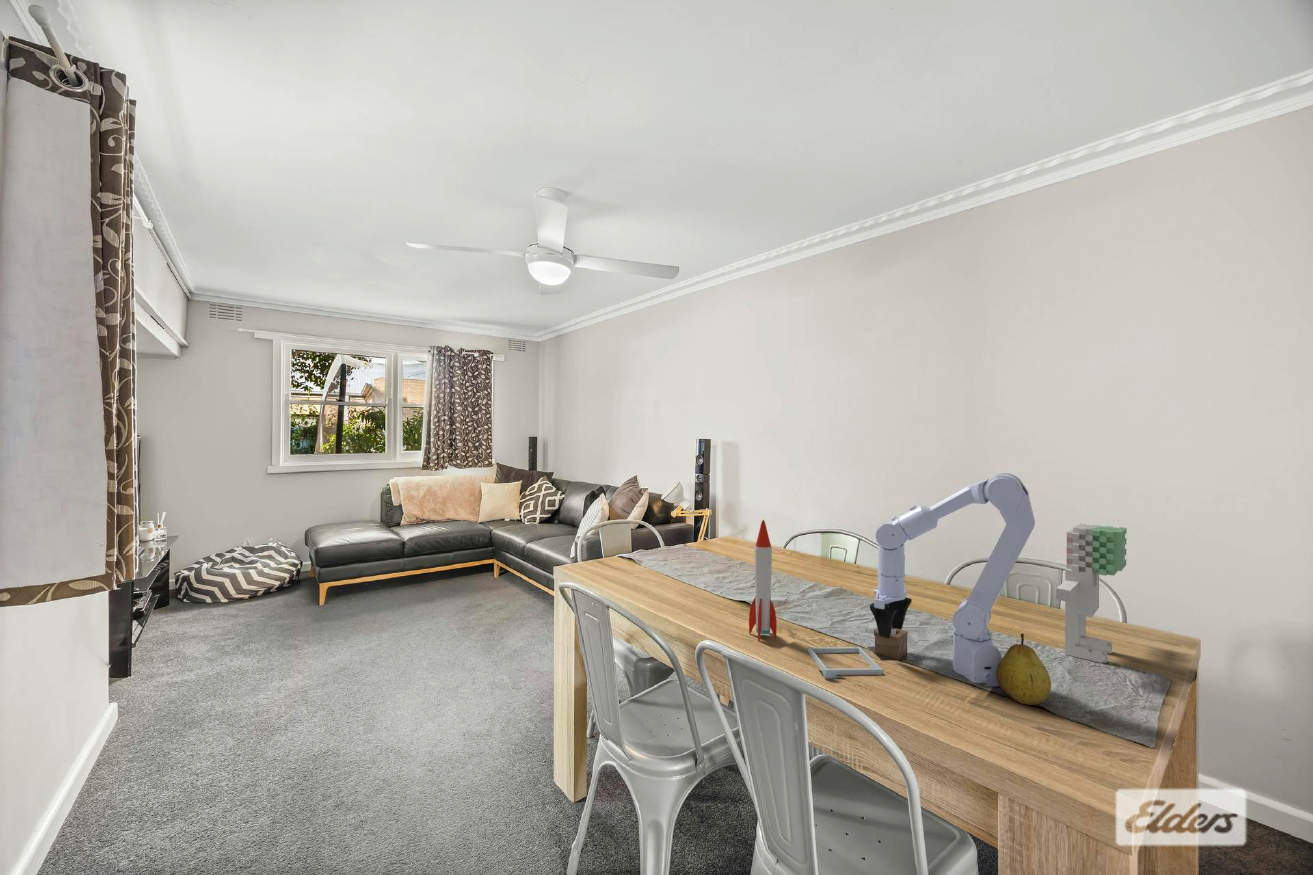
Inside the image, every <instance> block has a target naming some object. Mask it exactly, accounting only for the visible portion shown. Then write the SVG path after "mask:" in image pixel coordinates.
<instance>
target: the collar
mask: <svg viewBox="0 0 1313 875" xmlns="http://www.w3.org/2000/svg"><path fill="white" fill-rule="evenodd" d="M873 636H874V646H875V653H876V654H880V655H883V656H887V657H890V658H894V659H898V660H897V661H900V660H899V659H900V658H902V657H903V656H904V655H905V654H907V652H908V631H906V630H903V629H901V630H900V629H896V635H894V634H890V637H889V638H885V637H881V636H879V632H878V628H875V629H874V630H873Z"/></svg>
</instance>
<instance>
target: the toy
mask: <svg viewBox="0 0 1313 875" xmlns="http://www.w3.org/2000/svg"><path fill="white" fill-rule="evenodd" d="M1126 534H1127V527H1120V526H1119V527H1115V526H1114V527H1113V526H1111V525H1110V526H1109V525H1106V526H1103V525H1099V524H1086V523H1079V524H1077V525H1075V526H1073V527H1072V528H1071V529H1069V530H1068V531H1067V532H1066V568H1065V573H1064V574H1065V578H1064V579H1065V580H1064V581H1062V583H1061V584H1060V585H1058V586H1057V587H1056V590H1055V592H1056V594H1055V600H1057V601H1062V602H1064V604H1065V605H1064V612H1065V613H1064V614H1065V615H1064V619H1065V621H1064V655H1067V656H1071V657H1075V658H1079V659H1084V660H1089V661H1092V662H1096V663H1101V664H1103V663H1105V664H1107V663H1108V655H1112V653H1113V652H1112V650H1113V643H1112V642H1113V641H1109V640H1108V639H1107V640H1106V639H1102V638H1097V637H1092V636H1088V635H1086V634H1087V617H1090V618H1093V616H1094V615H1095V614H1096V612H1097V611H1098V610H1099V608H1100V576H1108V575H1109V576H1113V577H1114V576H1115V575H1116V574H1117V573H1118V571H1119V572H1123V570H1124V569H1125V567H1126V566H1127V559H1126V556H1127V548H1126V545H1127V538H1126Z"/></svg>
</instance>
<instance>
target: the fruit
mask: <svg viewBox="0 0 1313 875" xmlns="http://www.w3.org/2000/svg"><path fill="white" fill-rule="evenodd" d="M1020 639H1021V641H1020V642H1021V643H1018V644H1017V643H1016V644H1015V643H1014V644H1013V645H1011V646H1010V647H1009V648H1008V650H1007V651H1006V652H1005V654H1004V656H1002V659H1001V661H1000V662H999V665H998V667H997V671H996V676H997V681H998V683H999V685H1000V686H999V687H1000V689H1001V690H1002V692H1003V693H1004V694H1006V696H1007V697H1008V698H1010V699H1012V700H1013V701H1015V702H1016V703H1018V704H1022V705H1030V706H1031V705H1032V706H1034V705H1035V706H1036V705H1039V704H1041V703H1044V702H1045V701H1046V700H1047V699H1048V697H1049V696H1050V694H1051V692H1052V682H1051V677H1050V673H1049V671H1048V670H1047V668H1046V666H1045V665H1044V663H1043V661H1042V660H1041V659H1040V657H1039V656H1038V654H1037V653H1036V651H1035V650H1033V648H1032V647H1030V646H1028V645H1026V644H1024V642H1025V634H1024V633H1020Z"/></svg>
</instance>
